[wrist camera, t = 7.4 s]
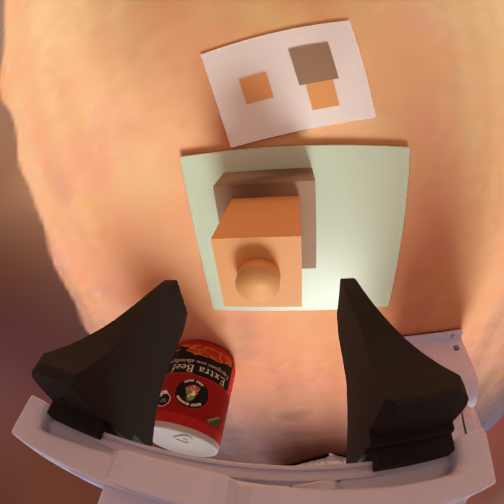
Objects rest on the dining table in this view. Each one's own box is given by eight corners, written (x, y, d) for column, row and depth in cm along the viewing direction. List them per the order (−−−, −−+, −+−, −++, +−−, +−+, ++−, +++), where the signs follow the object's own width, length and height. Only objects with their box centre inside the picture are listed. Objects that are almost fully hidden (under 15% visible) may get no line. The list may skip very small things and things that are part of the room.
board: (407, 146, 17) (409, 147, 17) (387, 303, 24) (388, 306, 24) (182, 156, 20) (179, 157, 19) (214, 306, 27) (213, 309, 26)
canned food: (243, 349, 29) (224, 443, 20) (229, 385, 34) (212, 462, 24) (174, 328, 29) (137, 416, 20) (171, 367, 33) (143, 441, 24)
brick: (299, 195, 17) (301, 245, 12) (300, 254, 19) (301, 317, 14) (231, 198, 17) (206, 247, 12) (240, 255, 19) (221, 316, 14)
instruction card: (348, 21, 13) (349, 20, 13) (375, 117, 16) (376, 118, 16) (201, 55, 16) (200, 54, 15) (231, 147, 19) (230, 148, 19)
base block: (311, 167, 18) (315, 180, 16) (313, 245, 21) (316, 268, 19) (223, 172, 19) (213, 186, 17) (235, 247, 22) (227, 270, 20)
